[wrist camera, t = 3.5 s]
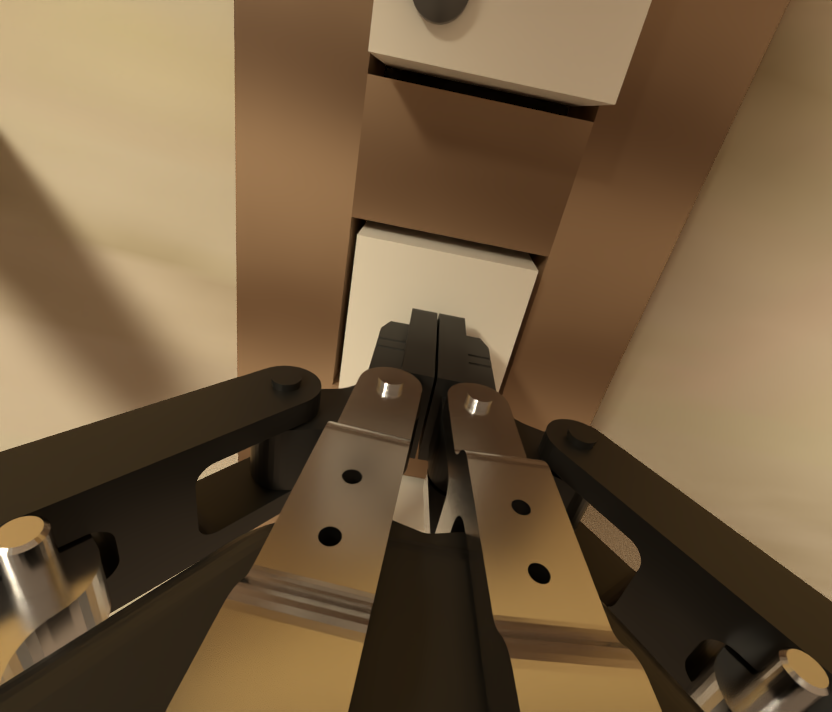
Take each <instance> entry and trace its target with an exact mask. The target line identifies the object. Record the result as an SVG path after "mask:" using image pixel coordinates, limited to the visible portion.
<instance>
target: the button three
mask: <svg viewBox="0 0 832 712" xmlns="http://www.w3.org/2000/svg"><path fill="white" fill-rule="evenodd" d="M651 1H652V0H374V2H373V11H372V20H371V29H370V38H369V47H368V52H370V53H371V54H372V55H374V56H375V57H376V58H378V59H379V60H380V61H382V62H383V63H384V64H385V65H387V66H388V67H392V68H396V69H401V70H405V71H410V72H415V73H419V74H424V75H429V76H433V77H438V78H443V79H447V80H452V81H456V82H461V83H466V84H470V85H475V86H480V87H484V88H489V89H493V90H498V91H503V92H507V93H512V94H517V95H521V96H526V97H531V98H535V99H540V100H544V101H549V102H554V103H558V104H563V105H568V106H597V105H615V104H616V101H617V98H618V95H619V92H620V90H621V87H622V84H623V81H624V78H625V75H626V73H627V70H628V67H629V64H630V61H631V58H632V55H633V53H634V50H635V47H636V44H637V41H638V38H639V35H640V33H641V30H642V27H643V24H644V21H645V18H646V16H647V13H648V10H649V7H650V4H651Z"/></svg>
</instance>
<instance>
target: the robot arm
mask: <svg viewBox="0 0 832 712" xmlns="http://www.w3.org/2000/svg"><path fill="white" fill-rule="evenodd" d="M437 316H438V313H436V312H430V311H425V310H420V309H415V308H412V313H411V318H410V323H409V324H404V323H399V322H394V321H390V322H389V323H387V324H386V325H384V326H383V327H381V329H380V333H379V336H378V339H377V343H376V346H375V349H374V352H373V356H372V359H371V362H370V366H369V369H368V370H366V371H364V372H363V373H362V374H361V375H360V377H359V379H358V381H357V383H356V385H353V386H350V387H346V388H339V389H321V387H322V386H321V381H320V379H319V378H318V377H317V376H316V375H315V374H314V373H312V372H310V371H308V370H306V369H303V368H300V367H295V366H274V367H269V368H266V369H262V370H259V371H256V372H253V373H250V374H247V375H243V376H240V377H237V378H234V379H231V380H227V381H224V382H221V383H218V384H215V385H212V386H208V387H205V388H202V389H199V390H196V391H193V392H189V393H186V394H183V395H180V396H177V397H173V398H170V399H167V400H164V401H161V402H158V403H154V404H151V405H148V406H145V407H142V408H139V409H135V410H132V411H129V412H126V413H123V414H119V415H116V416H113V417H110V418H107V419H104V420H100V421H97V422H94V423H91V424H88V425H84V426H81V427H78V428H75V429H72V430H69V431H65V432H62V433H59V434H56V435H53V436H50V437H46V438H43V439H40V440H37V441H34V442H30V443H27V444H24V445H21V446H18V447H15V448H11V449H8V450H5V451H2V452H0V712H832V602H831V601H830V600H829V599H827V598H826V597H825V596H823V595H822V594H820V593H819V592H818V591H816V590H815V589H814V588H812V587H811V586H810V585H808V584H807V583H805V582H804V581H803V580H801V579H800V578H799V577H797V576H796V575H794V574H793V573H792V572H790V571H789V570H788V569H786V568H785V567H784V566H782V565H781V564H779V563H778V562H777V561H775V560H774V559H773V558H771V557H770V556H769V555H767V554H766V553H764V552H763V551H762V550H760V549H759V548H758V547H756V546H755V545H753V544H752V543H751V542H749V541H748V540H747V539H745V538H744V537H743V536H741V535H740V534H738V533H737V532H736V531H734V530H733V529H732V528H730V527H729V526H727V525H726V524H725V523H723V522H722V521H721V520H719V519H718V518H717V517H715V516H714V515H712V514H711V513H710V512H708V511H707V510H706V509H704V508H703V507H701V506H700V505H699V504H697V503H696V502H695V501H693V500H692V499H691V498H689V497H688V496H686V495H685V494H684V493H682V492H681V491H680V490H678V489H677V488H675V487H674V486H673V485H671V484H670V483H669V482H667V481H666V480H665V479H663V478H662V477H660V476H659V475H658V474H656V473H655V472H654V471H652V470H651V469H649V468H648V467H647V466H645V465H644V464H643V463H641V462H640V461H639V460H637V459H636V458H634V457H633V456H632V455H630V454H629V453H628V452H626V451H625V450H623V449H622V448H621V447H619V446H618V445H617V444H615V443H614V442H613V441H611V440H610V439H608V438H607V437H606V436H604V435H603V434H602V433H600V432H599V431H597V430H596V429H594V428H592V427H591V426H589V425H586V424H584V423H581V422H579V421H575V420H570V419H557V420H553V421H551V422H550V423H549V424H548V425H547V427H546V430H545V432H544V431H541V430H539V429H536V428H534V427H531V426H528V425H526V424H524V423H522V422H520V421H518V420H516V419H514V417H513V414H512V411H511V408H510V405H509V403H508V401H507V400H506V399H505V398H504V397H503V396H502V395H501V394H500V393H499V392H497V391H496V387H495V381H494V376H493V370H492V364H491V360H490V353H489V348H488V347H487V346H486V345H485V343H484V342H483V341H482V340H481V339H480V338H476V337H471V336H466V325H465V318H461V317H456V316H451V315H446V314H441V313H439V316H438V320H437ZM418 444H419V449H418V459H420V460H425V461H428V469H427V473H426V477H425V480H424V484H423V498H424V526H425V533H424V532H421V531H418V530H416V529H413V528H411V527H408V526H406V525H403V524H401V523H398V522H396V521H394V520H392V519H393V515H394V511H395V506H396V502H397V498H398V493H399V489H400V485H401V480H402V476H403V474H404V473H405V472H406V470H407V467H408V462H409V458H413V459H415V456H416V452H417V448H418ZM249 447H250V457H248V458H246V459H244V460H242V461H240V462H238V463H235V464H233V465H231V466H229V467H227V468H224V469H222V470H220V471H218V472H216V473H214V474H211V475H209V476H207V477H205V478H203V479H200V480H198V481H197V479H198V477H199V476H200V474H201V473H202V472H203V471H204V470H205V469H206V468H207V467H209V466H210V465H212V464H213V463H215V462H217V461H220V460H222V459H224V458H226V457H229V456H231V455H233V454H235V453H238V452H240V451H242V450H245V449H247V448H249ZM589 503H590V504H591V505H592V506H593V507H594V508H595V509H596V510H598V511H599V512H600V513H601V514H602V515H603V516H604V517H606V518H607V519H608V520H609V521H610V522H611V523H612V524H614V525H615V526H616V527H617V528H618V529H619V530H620V531H622V532H623V533H624V534H625V535H626V536H627V537H628V538H630V539H631V540H632V541H633V543H634V544H635V545H636V547H637V548H638V551H639V553H640V556H641V566H640V568H639V570H638V571H637V572H636V571H634V570H633V569H632V568H630V567H629V566H628V565H627V564H626V563H625V562H624V561H623V560H622V559H621V558H620V557H619V556H617V555H616V554H615V553H614V552H613V551H612V550H611V549H610V548H609V547H608V546H607V545H606V544H604V543H603V542H602V541H601V540H600V539H599V538H598V537H597V536H596V535H595V534H594V533H593V532H591V531H590V530H589V529H588V528H587V527H586V526H585V525H584V524H583V523H582V522H581V521H580V520H581V518H582V516H583V515H584V513H585V511H586V509H587V507H588V505H589ZM278 514H279V516H278V518H277V520H276V522H275V523H272V524H268V525H265V526H262V527H259V528H257V529H255V528H256V527H258V526H260V525H261V524H263V523H265V522H267V521H268V520H270V519H272V518H273V517H275V516H277V515H278ZM253 529H254V530H253ZM251 530H252V531H251ZM249 531H250V532H249ZM198 561H199V562H198ZM193 564H194V565H193ZM190 566H191V567H190ZM188 567H189V568H188ZM185 569H186V570H185ZM183 570H184V571H183ZM181 571H183V572H181ZM180 572H181V573H180ZM178 573H179V574H178ZM176 574H178V575H176ZM175 575H176V576H175ZM173 576H175V577H173ZM171 577H173V578H171ZM169 578H171V579H170V580H168V579H169ZM166 580H168V581H167V582H165V583H163V582H164V581H166ZM161 583H163V584H162V585H160V586H159V587H157V588H155V589H154V590H152V591H151V592H149V593H147V594H146V595H144V596H143V597H141V598H139V599H138V600H136V601H135V602H133V603H131V604H130V605H128V606H127V607H125V608H123V609H122V610H120V611H119V612H117V613H115V614H114V615H112V616H111V617H109V614H110V613H112V612H113V611H115V610H117V609H118V608H120V607H122V606H124V605H125V604H127V603H129V602H130V601H132V600H134V599H135V598H137V597H139V596H141V595H142V594H144V593H146V592H147V591H149V590H151V589H152V588H154V587H156V586H158V585H159V584H161ZM108 617H109V618H108Z"/></svg>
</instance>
